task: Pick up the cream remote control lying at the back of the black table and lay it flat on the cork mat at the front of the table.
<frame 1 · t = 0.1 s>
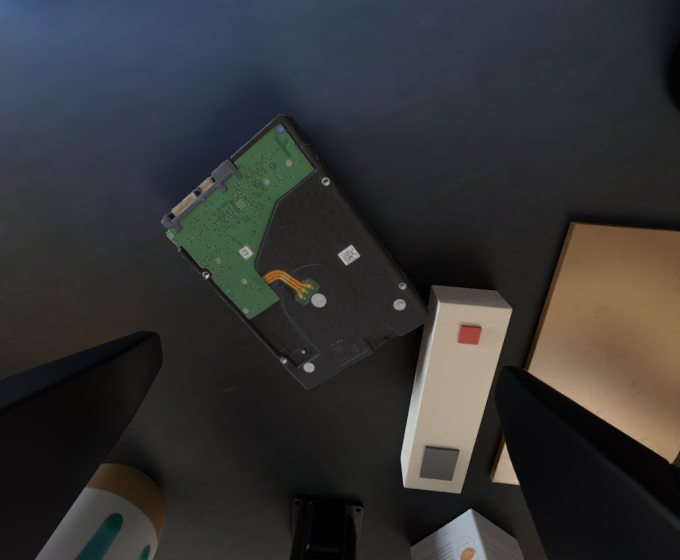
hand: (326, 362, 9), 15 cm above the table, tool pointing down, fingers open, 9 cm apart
remote: (443, 383, 27), on the table
cork mat: (614, 377, 25), on the table
disk drive: (303, 258, 24), on the table
vase: (131, 481, 34), on the table
small box: (462, 540, 33), on the table
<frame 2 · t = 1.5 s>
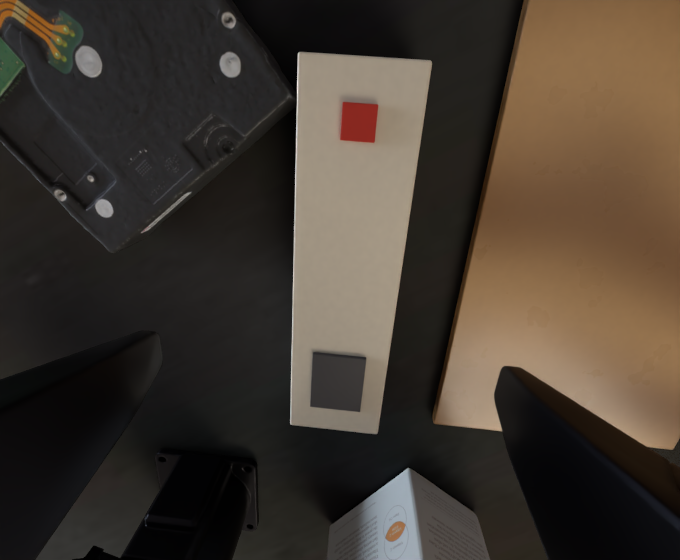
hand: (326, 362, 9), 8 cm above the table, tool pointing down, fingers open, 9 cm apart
remote: (349, 260, 17), on the table
cork mat: (618, 242, 16), on the table
disk drive: (96, 24, 14), on the table
small box: (401, 515, 24), on the table
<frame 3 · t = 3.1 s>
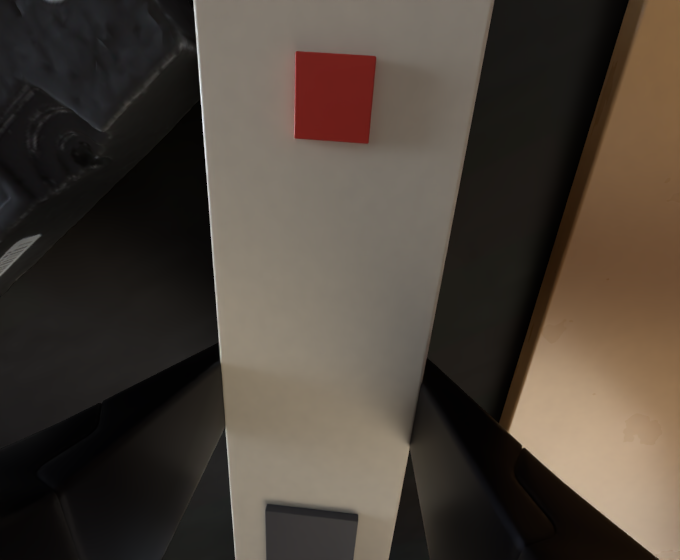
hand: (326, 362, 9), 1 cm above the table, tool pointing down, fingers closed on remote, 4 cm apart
remote: (330, 336, 10), on the table, touching gripper
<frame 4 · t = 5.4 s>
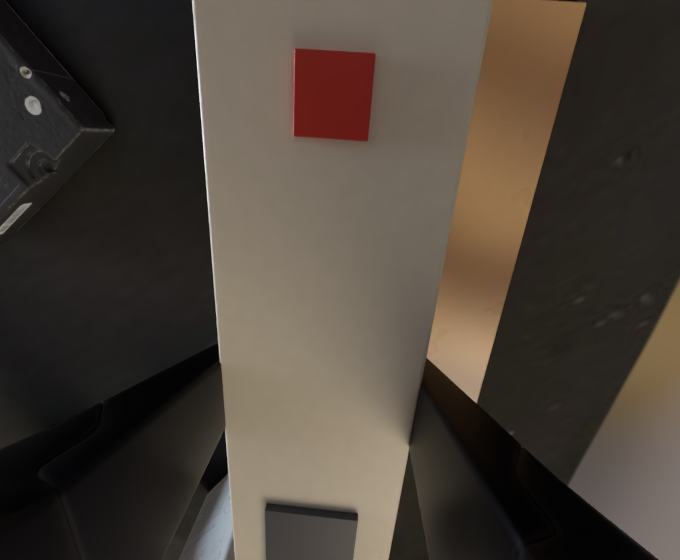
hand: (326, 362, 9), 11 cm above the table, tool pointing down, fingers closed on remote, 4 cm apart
remote: (330, 335, 10), point 10 cm above the table, touching gripper
cork mat: (392, 244, 19), on the table
small box: (268, 484, 27), on the table
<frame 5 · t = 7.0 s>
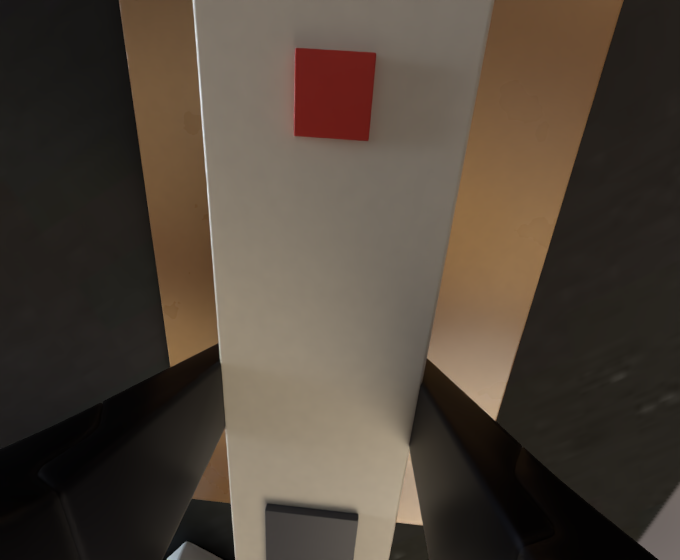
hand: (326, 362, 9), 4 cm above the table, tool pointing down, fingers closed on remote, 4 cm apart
remote: (330, 335, 10), point 3 cm above the table, touching gripper
cork mat: (339, 297, 13), on the table
when the fingers open (2 cm above the table, at t = 8.0 s): remote stays where it is, resting on cork mat.
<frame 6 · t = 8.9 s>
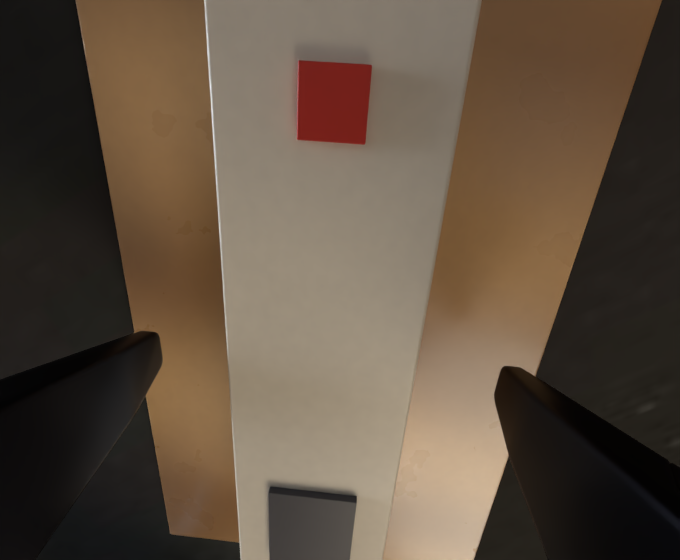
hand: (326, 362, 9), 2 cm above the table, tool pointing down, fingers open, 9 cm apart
remote: (330, 328, 11), point 1 cm above the table, touching cork mat
cork mat: (334, 319, 11), on the table
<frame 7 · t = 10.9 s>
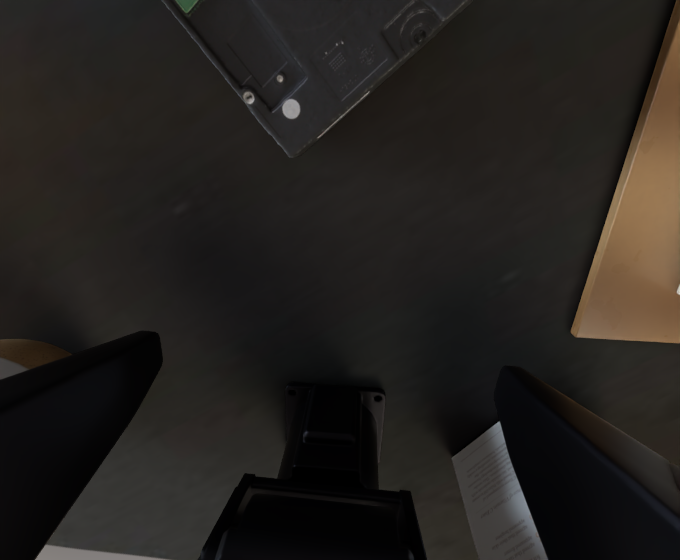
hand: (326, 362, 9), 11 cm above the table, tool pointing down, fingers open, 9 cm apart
vase: (65, 377, 25), on the table
small box: (524, 444, 24), on the table
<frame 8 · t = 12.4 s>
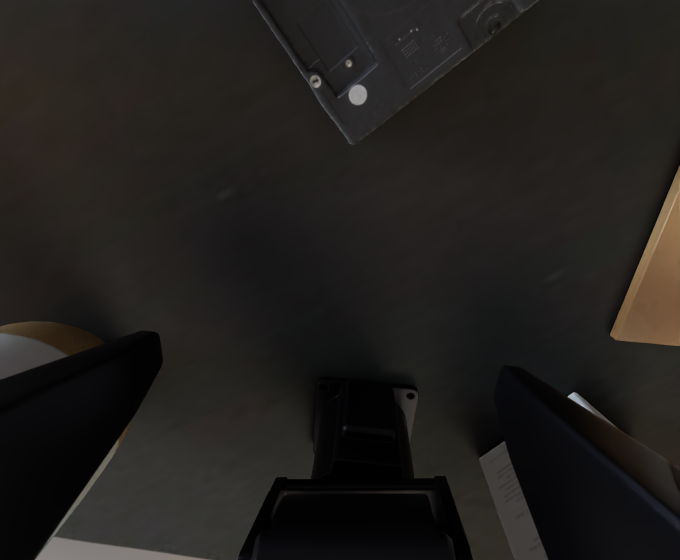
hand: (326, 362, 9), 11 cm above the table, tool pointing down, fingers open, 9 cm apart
vase: (89, 364, 24), on the table
small box: (552, 447, 24), on the table
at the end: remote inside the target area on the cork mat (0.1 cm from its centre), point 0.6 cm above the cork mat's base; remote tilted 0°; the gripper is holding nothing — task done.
